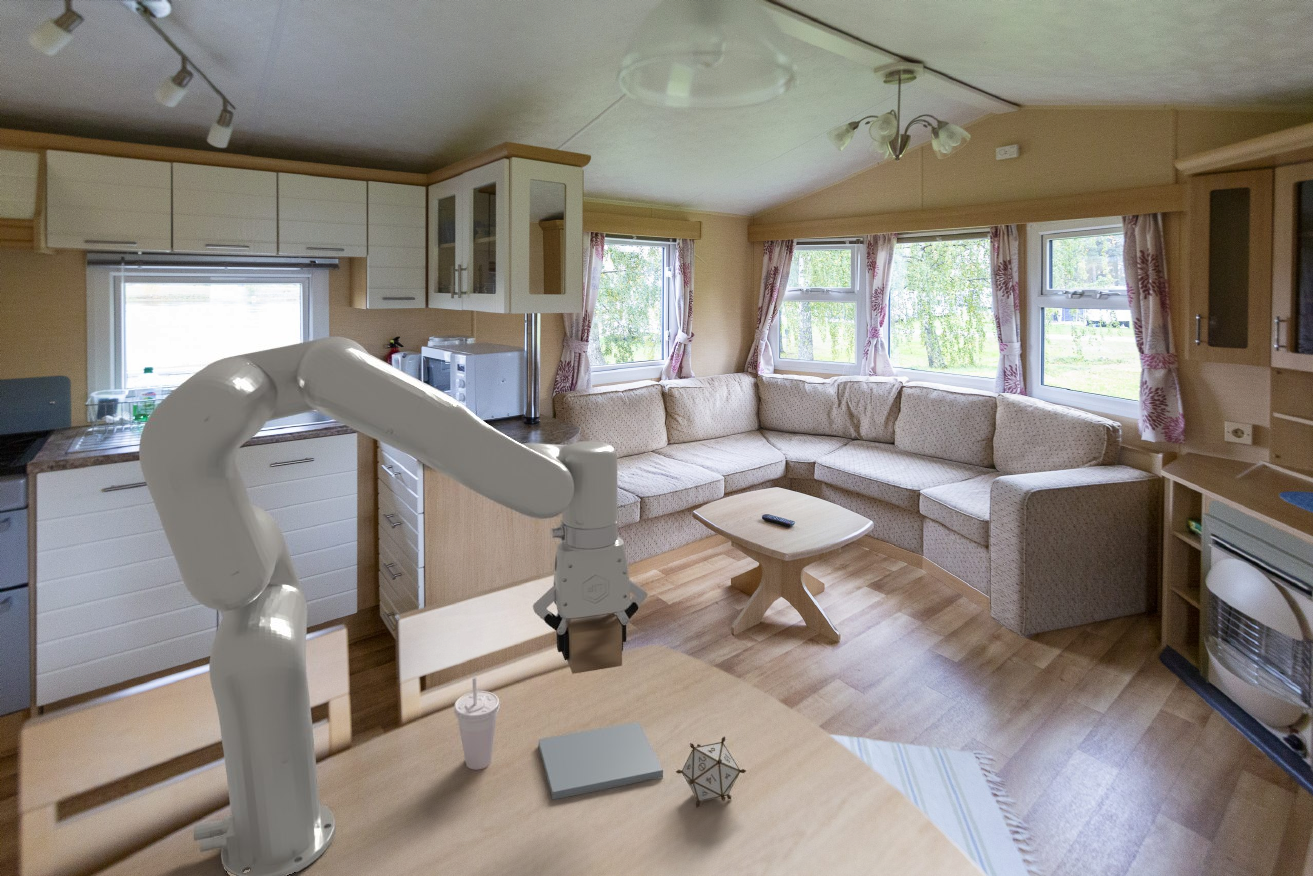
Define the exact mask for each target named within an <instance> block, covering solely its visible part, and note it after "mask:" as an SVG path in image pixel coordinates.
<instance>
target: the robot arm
mask: <svg viewBox="0 0 1313 876" xmlns="http://www.w3.org/2000/svg"><path fill="white" fill-rule="evenodd" d="M314 411H316V412H318V413H319V414H321V415H324V416H326V417H328V418H330V419H331V420H333V421H336V422H338V423H340V424H343V425H345V426H347V427H348V428H351V429H353V430H355V431H358V432H360V433H362V434H363V435H365V436H368V437H370V438H372V439H374V440H376V441H379V442H380V443H383V444H385V445H386V446H390V447H392V448H394V449H396V450H398V451H399V452H402V453H404V454H406V455H408V456H410V457H413V458H414V459H416V460H418V461H420V462H422V463H423V464H424V465H426V466H428V467H429V468H431V469H432V470H434V471H437V472H439V473H441V474H443V475H444V476H446V477H448V478H450V479H452V480H453V481H456V482H457V483H459V484H460V485H462V486H464V487H466V488H468V489H470V490H472V491H473V492H475V493H476V494H479V495H481V496H483V497H484V498H486V499H488V500H491V501H492V502H495V503H497V504H499V505H501V506H503V507H506V508H508V509H510V510H512V511H514V512H516V513H517V514H521V515H524V516H525V517H528V518H532V519H536V520H537V519H538V520H547V519H551V518H552V519H553V518H555V517H557V516H559V515H561V520H560V523H559V526H556V527H553V528H551V538H552V539H555V538H556V539H560V540H559V541H558V543H557V547H556V553H555V559H554V571H553V585H552V587H551V588H549V589H548V590H547V591H546V592H545V593H543V595H542V596H540V598H538V600H536V602H534V603H533V604H532V609H533V611H534V613H535V614H536V615H537V616H538V617H539V618H540V619H541V620H543V621H544V623H545V624H546V625H548V626H549V628H550V627H551V628H552V629H553V630H554V631H556V649H557V652H558V653H561V654H562V657H563V659H564V661H567V660H569V634H568V631H567V627H568V625H569V623H570V621H571V619H578V618H586V617H593V616H600V615H607V614H613V613H615V615H616V617H617V618H618V620H619V622H620V624H621V625H622V652H624V643H626V642H627V625H629V623H630V619H631V618H632V617H633V615H635V614H636V613H637V611H638V610H639V607H640V606H641V605H642V604H643V603H644V601H645V600H646V599H647V598H648V593H647V591H646V590H645V589H644V588H643V587H642V586H640V585H638V584H637V583H636V582H634V581H632V580H631V579H630V575H629V566H628V556H627V551H626V547H625V546H626V545H625V542H624V539H622V538H621V537H620V536H618V535H619V533H618V527H619V526H618V521H619V520H618V518H619V517H618V514H619V513H618V455H617V451H616V449H615V448H614V446H612V445H611V444H609V443H606V442H603V441H599V440H598V441H597V440H596V441H595V440H583V441H575V442H573V443H572V442H571V443H569V444H553V443H552V444H551V443H539V442H537V443H536V442H526V443H520V442H518V441H516V440H514V439H513V438H512V437H509V436H507V435H506V434H505V433H502V432H501V431H499V430H497V429H496V428H494V427H493V426H491V425H489V423H486V422H485V421H484V420H483V419H481V418H480V417H479V416H478V415H476V414H475V413H474V412H473V411H472V410H470V409H469V408H468V407H466V406H465V405H464V404H462V402H460V401H459V400H457V399H456V398H454V397H452V396H451V395H449V393H446V392H443V391H442V390H440V389H437V388H436V387H434V386H431V385H430V384H428V383H425V382H423V381H422V380H419V379H418V378H415V377H414V376H412V375H410V374H408V373H407V372H405V371H402V370H400V369H398V368H397V367H395V366H393V365H391V364H390V363H388V362H386V361H384V360H382V359H380V358H378V357H377V356H374V355H372V354H370V353H369V352H368V351H367V350H366V349H365V347H363V345H361V344H359V343H358V342H356V341H355V340H352V339H350V338H347V337H343V336H327V337H321V338H318V339H313V340H309V341H308V340H307V341H304V342H299V343H295V344H290V345H286V346H278V347H273V348H270V349H264V350H257V351H255V352H254V351H253V352H249V353H242V354H238V355H234V356H229V357H225V358H224V357H223V358H222V359H219V360H216V361H214V362H211V363H209V364H208V365H207V366H205V367H203V368H202V369H201V370H198V371H197V372H196V373H194V374H193V375H192V376H191V377H189V378H188V379H186V380H185V381H184V382H182V383H181V384H180V385H179V386H177V387H176V388H175V389H174V390H172V392H170V393H169V394H168V395H167V396H166V397H165V398H163V399H162V401H161V402H159V404H158V405H157V406H156V407H155V408H154V409H153V411H152V412H151V413H150V415H149V416H148V418H147V420H146V421H145V424H144V425H143V428H142V431H141V434H140V439H139V445H138V446H139V449H138V454H139V455H138V456H139V457H138V458H139V463H140V467H141V472H142V475H143V478H144V480H145V483H146V486H147V488H148V489H147V490H148V491H149V494H150V496H151V498H152V501H153V504H154V506H155V508H156V511H157V513H158V517H159V520H160V523H161V526H162V529H163V531H164V534H165V536H166V539H167V541H168V544H169V546H170V548H171V551H172V554H173V556H174V559H175V561H176V564H177V566H178V569H179V572H180V575H181V578H182V580H183V583H184V586H185V588H186V589H187V591H188V592H189V594H190V595H191V596H192V597H193V599H195V600H196V601H197V602H198V603H199V604H201V606H202V605H203V606H204V607H206V608H208V609H211V610H216V611H220V614H221V617H222V618H221V620H220V624H219V626H218V628H217V631H216V634H215V637H214V640H213V643H212V646H211V650H210V651H211V652H210V657H209V667H208V668H209V669H208V670H209V680H210V685H211V690H212V693H213V697H214V702H215V706H216V710H217V715H218V721H219V728H220V736H221V744H222V749H223V758H224V765H225V773H226V782H227V789H228V791H227V792H228V799H229V806H230V815H229V814H228V815H225V816H224V819H220V820H216V821H215V820H214V821H213V820H210V821H206V822H199V823H196V824H195V825H194V830H193V841H194V842H199V841H200V843H199V851H200V853H204V852H208V851H213V850H217V849H220V848H221V853H220V854H221V855H220V858H221V865H222V864H223V866H224V867H225V869H226V870H227V871H228V872H230V873H231V874H234V875H236V876H286V875H287V874H291V873H294V872H296V873H298V872H300V871H301V870H303V869H305V868H306V867H308V866H310V865H311V864H312V863H314V861H316V860H317V859H319V857H321V856H322V855H323V853H324V852H325V851H326V850H327V848H328V847H329V845H330V844H331V843H332V841H333V838H334V836H335V832H336V821H335V816H334V814H333V812H332V811H331V809H330V808H329V807H327V806H326V805H325V804H323V803H321V802H320V797H319V783H318V773H317V772H318V771H317V762H316V750H315V739H314V728H313V719H312V708H311V700H310V691H309V690H310V689H309V681H308V674H307V657H306V653H307V651H306V646H307V645H306V644H307V643H306V642H307V632H308V631H307V627H308V625H307V624H308V606H307V605H308V604H307V601H306V596H305V594H304V591H303V587H302V585H301V582H300V579H299V577H298V573H297V571H296V568H295V566H294V562H293V560H292V557H291V555H290V552H289V548H288V546H287V543H286V539H285V537H284V535H283V532H282V530H281V528H280V526H279V524H278V523H277V521H276V519H275V518H274V517H273V516H272V515H271V514H270V513H269V512H267V510H265V509H263V508H261V507H259V506H256V505H254V504H252V503H251V501H250V498H249V493H248V491H247V487H246V486H247V485H246V484H245V482H244V479H243V477H242V475H241V473H240V470H239V469H238V467H237V464H236V456H237V452H238V450H239V449H240V448H241V447H242V446H243V444H245V443H246V442H248V441H249V440H251V439H252V438H254V437H255V436H256V435H257V434H258V433H259V432H260V431H261V430H263V428H264V426H265V424H266V423H267V422H271V421H275V420H280V419H283V418H289V417H293V416H296V415H300V414H304V413H310V412H314ZM631 594H632V595H633V596H631ZM553 603H554V604H555V606H556V610H557V613H556V614H554V613H553V612H552V611H550V610H548V608H549V606H551V605H552V604H553ZM223 866H222V867H223ZM249 869H250V871H249V872H247V873H243V872H244V871H245V870H249ZM294 874H295V873H294Z"/></svg>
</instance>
